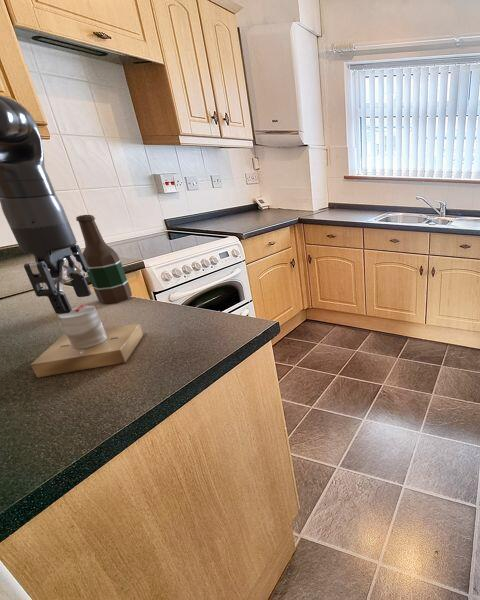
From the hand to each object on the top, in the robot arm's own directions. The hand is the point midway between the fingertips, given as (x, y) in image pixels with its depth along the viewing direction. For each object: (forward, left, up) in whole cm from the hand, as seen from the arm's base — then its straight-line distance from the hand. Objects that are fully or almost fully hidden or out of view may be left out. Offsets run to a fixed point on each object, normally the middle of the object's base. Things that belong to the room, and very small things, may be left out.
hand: (75, 304), depth 67 cm
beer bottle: (-7, +34, -12) cm, 36 cm away
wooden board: (0, 0, -12) cm, 12 cm away
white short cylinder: (0, 0, -8) cm, 8 cm away
